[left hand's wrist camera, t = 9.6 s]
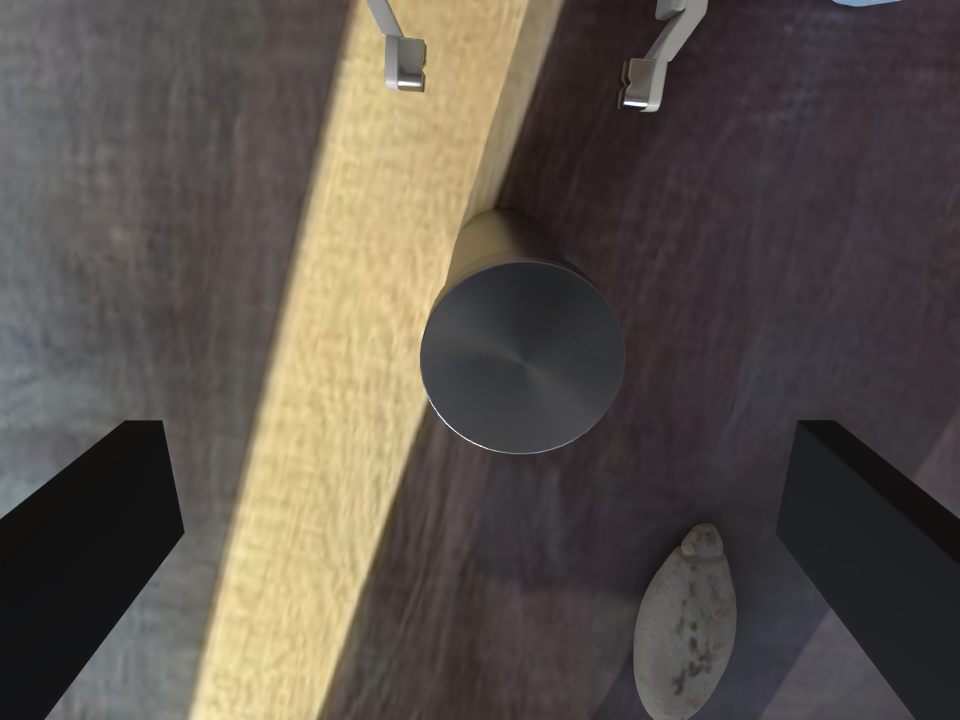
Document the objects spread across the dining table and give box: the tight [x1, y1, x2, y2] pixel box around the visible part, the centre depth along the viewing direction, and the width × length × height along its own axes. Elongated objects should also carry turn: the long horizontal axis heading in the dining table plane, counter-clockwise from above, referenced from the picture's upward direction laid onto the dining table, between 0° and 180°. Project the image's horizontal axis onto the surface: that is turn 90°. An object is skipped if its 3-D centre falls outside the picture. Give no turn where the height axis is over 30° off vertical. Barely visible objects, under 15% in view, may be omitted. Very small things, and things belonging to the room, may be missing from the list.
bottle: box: [445, 208, 565, 284], centre depth 25 cm, size 5×5×16 cm
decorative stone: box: [633, 523, 737, 720], centre depth 39 cm, size 6×16×3 cm, turn 178°
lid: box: [420, 249, 626, 454], centre depth 18 cm, size 6×6×2 cm
